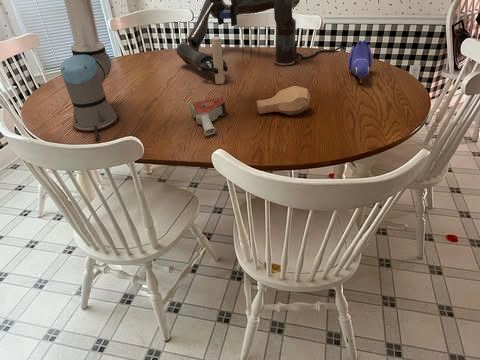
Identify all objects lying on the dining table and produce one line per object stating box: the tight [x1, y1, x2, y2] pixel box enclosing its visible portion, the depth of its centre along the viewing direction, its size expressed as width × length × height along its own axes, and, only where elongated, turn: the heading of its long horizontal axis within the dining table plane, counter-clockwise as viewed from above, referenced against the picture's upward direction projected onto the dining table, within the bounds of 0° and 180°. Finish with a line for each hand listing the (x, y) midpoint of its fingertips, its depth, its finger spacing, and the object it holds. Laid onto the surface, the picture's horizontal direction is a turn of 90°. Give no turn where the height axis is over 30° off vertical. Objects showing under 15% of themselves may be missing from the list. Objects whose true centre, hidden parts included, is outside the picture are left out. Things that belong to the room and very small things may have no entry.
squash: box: [255, 85, 312, 116], centre depth 130 cm, size 11×20×9 cm, turn 92°
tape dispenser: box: [188, 97, 226, 137], centre depth 128 cm, size 18×5×20 cm
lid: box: [219, 10, 231, 20], centre depth 128 cm, size 5×5×2 cm
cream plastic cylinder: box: [211, 36, 225, 85], centre depth 154 cm, size 4×4×19 cm
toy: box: [347, 39, 373, 84], centre depth 152 cm, size 10×17×25 cm
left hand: (227, 24), depth 130 cm, fingers closed on lid, 5 cm apart
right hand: (221, 70), depth 155 cm, fingers closed on cream plastic cylinder, 4 cm apart
